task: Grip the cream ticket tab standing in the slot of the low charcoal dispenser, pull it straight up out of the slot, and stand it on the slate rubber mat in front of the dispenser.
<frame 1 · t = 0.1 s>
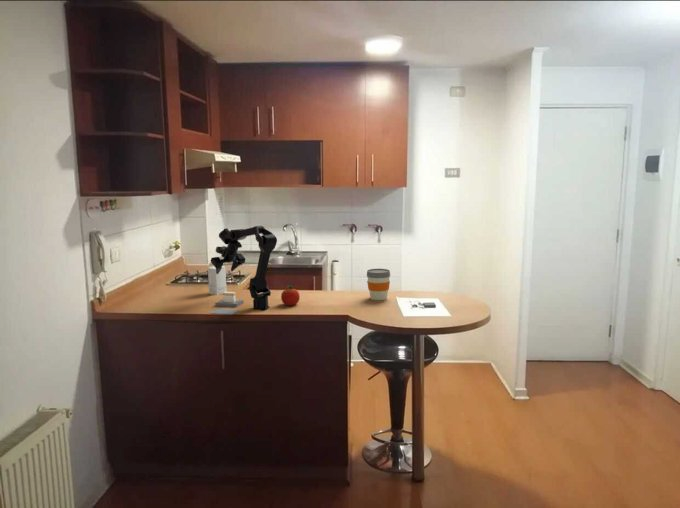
hand: (224, 272, 272), 15 cm above the kitchen counter, tool tilted 30°, fingers open, 9 cm apart
skincare box: (218, 293, 288), on the kitchen counter
fruit: (290, 305, 260), on the kitchen counter
mat: (224, 312, 248), on the kitchen counter
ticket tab: (229, 304, 261), resting on dispenser
dispenser: (229, 305, 261), on the kitchen counter
reusable coffee cup: (378, 298, 270), on the kitchen counter
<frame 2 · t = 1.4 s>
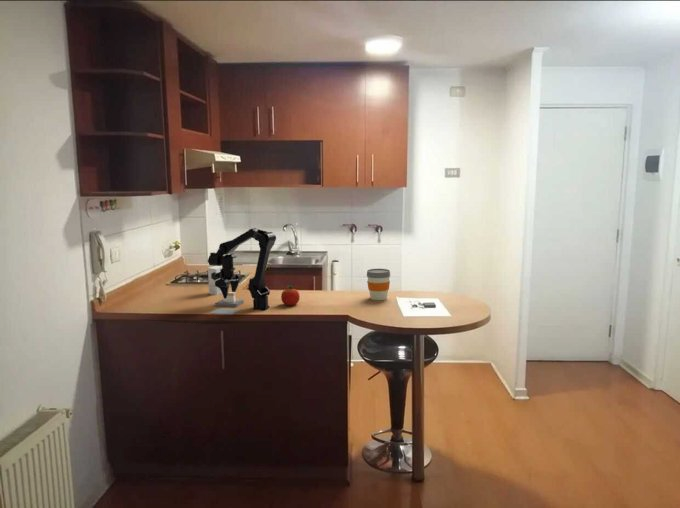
hand: (229, 296, 260), 5 cm above the kitchen counter, tool pointing down, fingers open, 9 cm apart
nothing on the kitchen counter moved.
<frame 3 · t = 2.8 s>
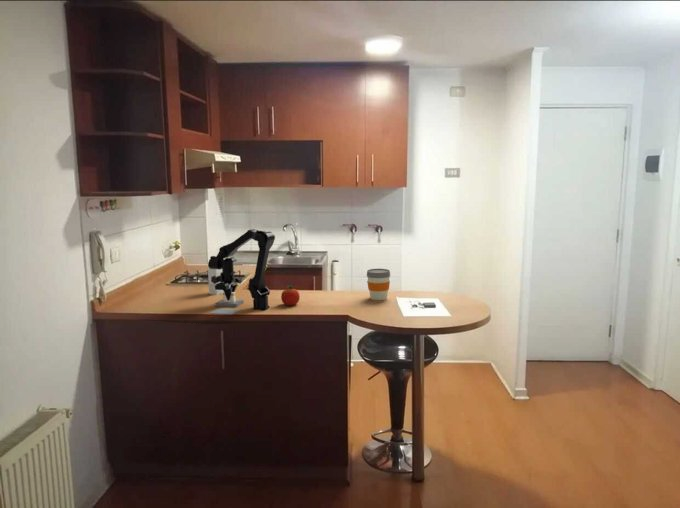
hand: (229, 299, 261), 3 cm above the kitchen counter, tool pointing down, fingers closed on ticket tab, 2 cm apart
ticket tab: (229, 304, 261), resting on dispenser, touching gripper
everything else where it was.
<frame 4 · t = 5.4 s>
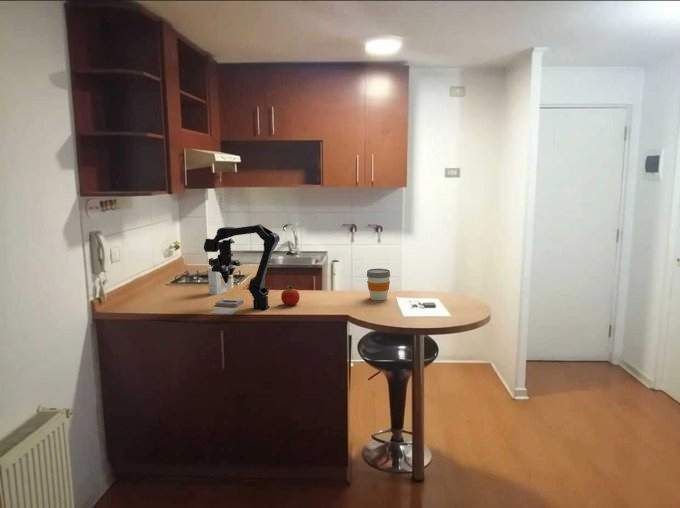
hand: (227, 282, 255), 13 cm above the kitchen counter, tool pointing down, fingers closed on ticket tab
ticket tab: (227, 287, 256), point 10 cm above the kitchen counter, touching gripper
everything else where it was.
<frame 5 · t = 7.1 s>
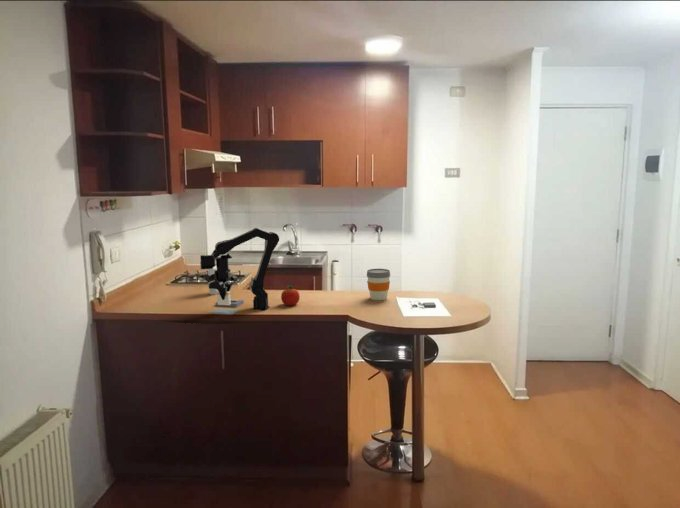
hand: (224, 299, 247), 7 cm above the kitchen counter, tool pointing down, fingers closed on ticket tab
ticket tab: (224, 304, 247), point 4 cm above the kitchen counter, touching gripper
everything else where it was.
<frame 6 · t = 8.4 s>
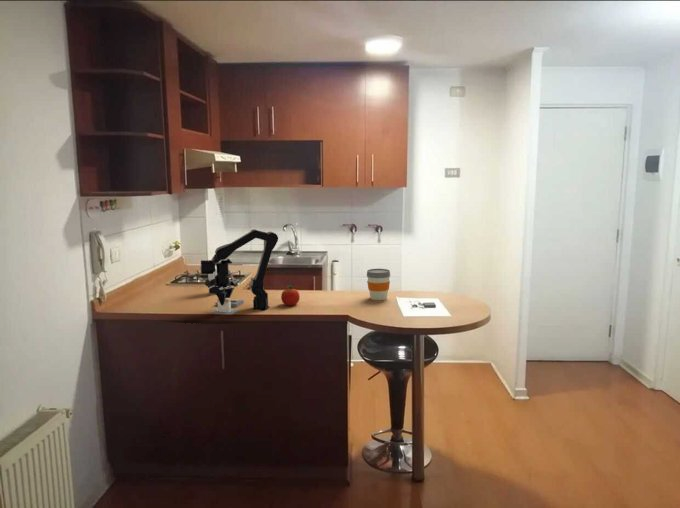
hand: (224, 304, 247), 4 cm above the kitchen counter, tool pointing down, fingers open, 4 cm apart
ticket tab: (224, 311, 248), point 1 cm above the kitchen counter, touching mat
everything else where it was.
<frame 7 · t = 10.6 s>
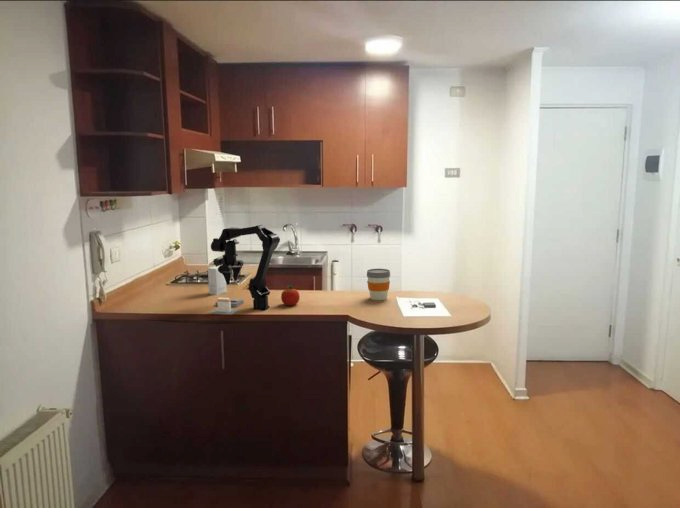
hand: (231, 282, 259), 12 cm above the kitchen counter, tool pointing down, fingers open, 9 cm apart
nothing on the kitchen counter moved.
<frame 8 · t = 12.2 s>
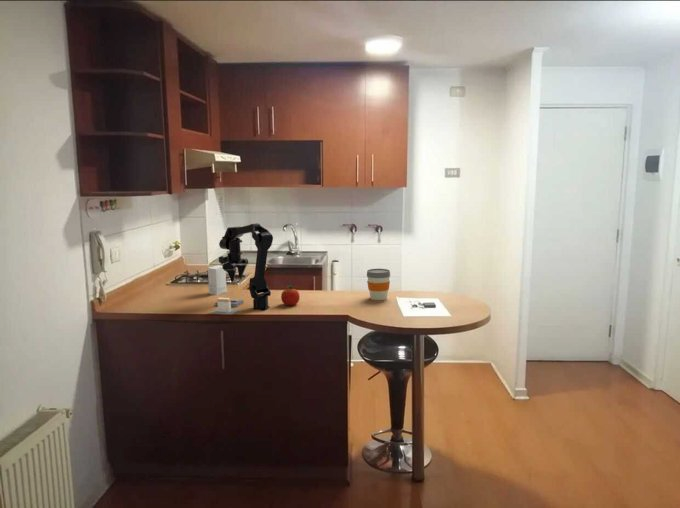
hand: (236, 279, 266), 12 cm above the kitchen counter, tool pointing down, fingers open, 9 cm apart
nothing on the kitchen counter moved.
at the end: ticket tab inside the target area on the mat (0.1 cm from its centre), point 0.6 cm above the mat's base; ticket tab tilted 0°; the gripper is holding nothing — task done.
